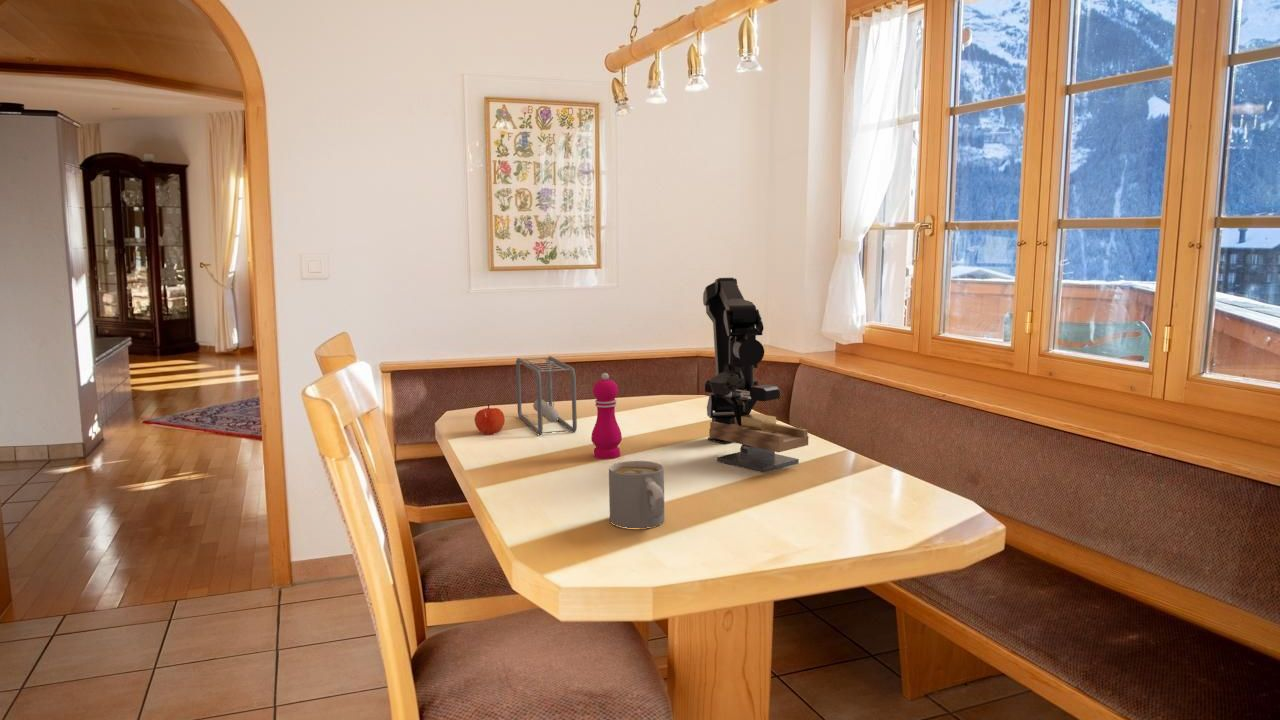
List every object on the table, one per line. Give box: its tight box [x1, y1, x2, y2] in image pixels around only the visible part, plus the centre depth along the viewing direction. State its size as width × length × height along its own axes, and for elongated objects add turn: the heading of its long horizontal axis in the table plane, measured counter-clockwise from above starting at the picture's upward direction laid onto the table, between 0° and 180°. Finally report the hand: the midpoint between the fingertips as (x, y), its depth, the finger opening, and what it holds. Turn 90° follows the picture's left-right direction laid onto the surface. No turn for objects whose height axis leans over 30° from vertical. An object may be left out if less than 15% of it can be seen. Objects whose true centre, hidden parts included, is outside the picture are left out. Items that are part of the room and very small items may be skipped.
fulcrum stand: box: [716, 444, 800, 474], centre depth 198 cm, size 14×12×5 cm
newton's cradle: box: [515, 355, 578, 436], centre depth 243 cm, size 30×10×18 cm, turn 19°
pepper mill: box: [590, 372, 623, 460], centre depth 205 cm, size 7×7×20 cm
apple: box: [474, 403, 506, 435], centre depth 233 cm, size 8×8×8 cm
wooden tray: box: [708, 417, 809, 453], centre depth 197 cm, size 21×10×4 cm, turn 40°
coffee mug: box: [608, 460, 666, 528], centre depth 155 cm, size 13×10×10 cm
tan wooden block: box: [741, 412, 777, 433], centre depth 197 cm, size 6×5×4 cm
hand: (741, 425), depth 201 cm, fingers closed
